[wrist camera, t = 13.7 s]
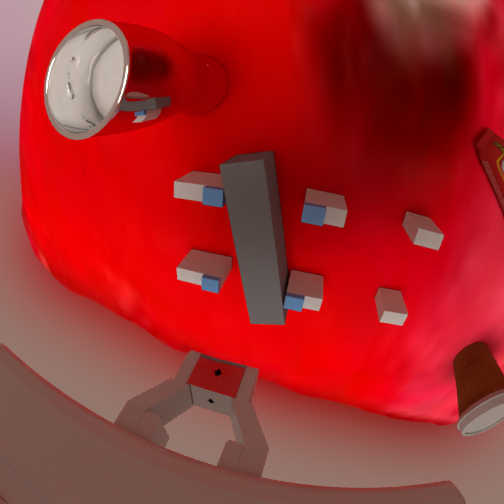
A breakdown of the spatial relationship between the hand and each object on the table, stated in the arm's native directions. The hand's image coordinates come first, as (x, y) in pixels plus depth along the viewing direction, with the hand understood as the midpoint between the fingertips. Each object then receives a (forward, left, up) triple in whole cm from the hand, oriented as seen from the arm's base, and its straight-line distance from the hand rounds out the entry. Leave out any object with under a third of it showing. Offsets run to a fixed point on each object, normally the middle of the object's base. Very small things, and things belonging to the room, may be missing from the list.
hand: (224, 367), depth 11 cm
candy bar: (-24, -8, -19) cm, 32 cm away
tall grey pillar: (+1, +3, -19) cm, 19 cm away
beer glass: (+9, -11, -19) cm, 24 cm away
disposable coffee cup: (-33, +16, -19) cm, 41 cm away
